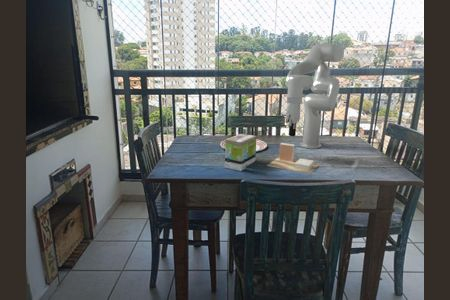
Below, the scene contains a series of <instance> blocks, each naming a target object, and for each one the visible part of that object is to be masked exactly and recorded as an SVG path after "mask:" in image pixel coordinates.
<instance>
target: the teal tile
mask: <svg viewBox="0 0 450 300" xmlns="http://www.w3.org/2000/svg"><path fill="white" fill-rule="evenodd" d="M297 160H298V161H297V162H296V163H295V165H294V168H297V169H302V170H308V171H309V170H310V169H311V168H312V167H313V165H314V163H315V161H314V160H313V159H311V160H310V159H306V158H299V159H297Z"/></svg>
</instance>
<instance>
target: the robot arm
mask: <svg viewBox="0 0 450 300" xmlns="http://www.w3.org/2000/svg"><path fill="white" fill-rule="evenodd" d="M344 55H345V53H344V49H343V47H342V46H341V45H338V44H336V43H335V44H334V43H316V44H314V45H313V46H311V48H310V50H309V52H308V54H307V55H306V57H305V59H304V60H302V61H300V62H299V63H297V64H296V65H294V66H292V68H291V69H290V70H289V71H288V73H287V76H286V78H285V83H284V84H285V87H286V88H287V96H286V97H287V99H286V104H287V106H286V111H285V119H284V122H285V123H286V124H288V125H287V126H288V136H290V137H295V136H296V135H297V134H296V133H297V131H296V130H297V124H298V122H299V121H300V117H301V105H302V104H303V106H304V107H303V108H304V117H303V118H304V120H303V121H304V122H303V135H302V142H300V143H299V146H300V147H302V148H304V149H310V150H311V149H312V150H315V149H320V148H322V144H321V143H320V134H321V126H322V125H321V123H322V116H321V114H320V113H319V112H320V111H321V112H332V111H333V110H334V109H335V106H336V103H337V100H338V95H339V93H340V88H341V87H340V86H341V85H340V80H339V79H338V78H336V77H330V75H331V70H330V68H329V65H328V64H326V62H327V63H328V62H329V63H339V62H341V61H342V60H343V58H344ZM310 73H314V74H313V77H312V76H310V75H307V74H310ZM308 90H311V91H312V93H308V94H307V95H305V97H304V98H303V93H304V92H303V91H308Z"/></svg>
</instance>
